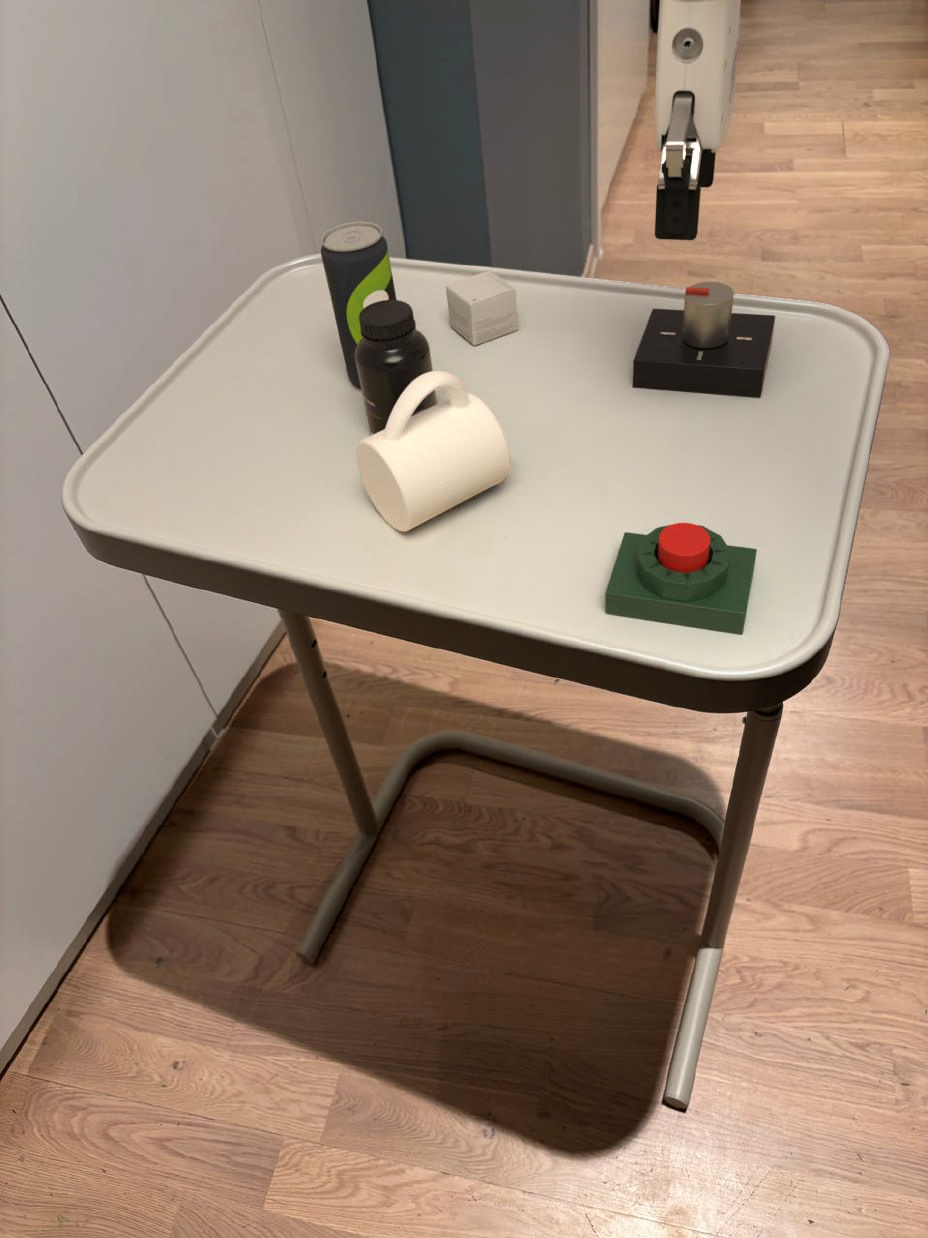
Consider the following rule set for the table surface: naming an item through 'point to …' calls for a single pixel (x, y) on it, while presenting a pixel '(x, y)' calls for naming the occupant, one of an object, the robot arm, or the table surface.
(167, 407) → the table surface
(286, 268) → the table surface
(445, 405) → the mug
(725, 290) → the dial
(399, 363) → the supplement bottle
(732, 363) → the dial panel
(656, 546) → the button box
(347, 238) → the beverage can
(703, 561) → the button
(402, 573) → the table surface
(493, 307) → the small box
